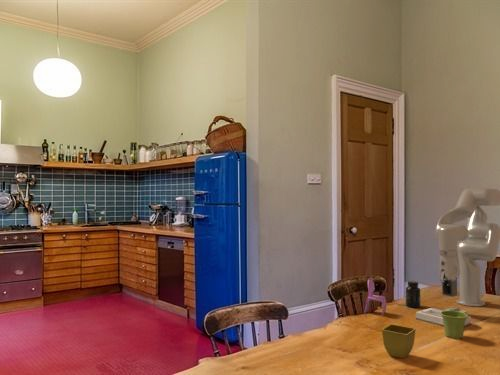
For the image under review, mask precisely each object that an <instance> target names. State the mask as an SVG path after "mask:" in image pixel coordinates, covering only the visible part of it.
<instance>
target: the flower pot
mask: <svg viewBox="0 0 500 375" xmlns="http://www.w3.org/2000/svg"><path fill="white" fill-rule="evenodd" d="M381 333H382V334H381V335H382V341H383V346H384V349H385V350H386V353H387V354H388V356H391V357H395V358H399V359H406V357H408V356H409V355H410V353H411V352H412V349H413V347H414V345H415V337H416V328H414V327H410V326H409V327H408V326H405V325H404V326H403V325H399V324H393V323H390V324H388V325H386V326H385V327H383V328H382V329H381Z"/></svg>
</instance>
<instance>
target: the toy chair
mask: <svg viewBox="0 0 500 375" xmlns="http://www.w3.org/2000/svg"><path fill="white" fill-rule="evenodd" d="M375 289H376V288H375V282H374V281H373V280H372V279H367V291H368V297H367V298H366V300H365V301H366V302H365V308H364V312H363V314H365V313H366V312H368V311H369V309H370V302H371V301H377V302H381V305H382V310H381V311H382V312H381V315H382V316H383V315H384V314H386V311H387V299H386V296H385V295H375V294H374V293H373V292H374V291H375Z"/></svg>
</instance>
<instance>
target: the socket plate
mask: <svg viewBox="0 0 500 375" xmlns="http://www.w3.org/2000/svg"><path fill="white" fill-rule="evenodd" d="M442 310H443V309H441V308H440V309H439V308H435V307H429V308H426V309H421V310H419V311H415V319H416V320H419V321H422V322H426V323H430V324H434V325H439V326H441V327H444V323H443V318H442V315H441V314H440V312H442ZM471 320H472V319H471V316H469V315H467V318H466V320H465V324H464V327H466V326H468V325H469V326H470V325H471V322H472V321H471Z"/></svg>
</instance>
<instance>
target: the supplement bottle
mask: <svg viewBox="0 0 500 375" xmlns="http://www.w3.org/2000/svg"><path fill="white" fill-rule="evenodd" d="M405 306H406V307H407V308H412V309H419V308H421V288H420V287H419V282H418V281H416V280H409V281H407V286H406V288H405Z"/></svg>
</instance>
